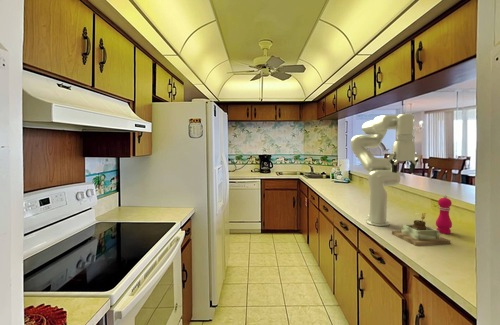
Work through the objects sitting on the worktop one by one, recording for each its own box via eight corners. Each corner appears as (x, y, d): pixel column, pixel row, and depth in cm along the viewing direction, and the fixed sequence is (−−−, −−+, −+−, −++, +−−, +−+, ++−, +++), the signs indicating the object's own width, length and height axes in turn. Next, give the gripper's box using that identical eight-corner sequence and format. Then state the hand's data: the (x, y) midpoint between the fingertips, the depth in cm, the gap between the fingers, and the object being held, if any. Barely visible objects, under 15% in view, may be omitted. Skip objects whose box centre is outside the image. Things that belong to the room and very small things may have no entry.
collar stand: (391, 233, 156) (392, 223, 155) (423, 232, 158) (423, 222, 158) (415, 245, 138) (415, 233, 138) (450, 243, 140) (450, 232, 140)
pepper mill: (445, 230, 162) (447, 193, 161) (455, 234, 155) (456, 196, 154) (432, 230, 162) (433, 193, 161) (441, 234, 155) (442, 196, 154)
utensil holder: (421, 233, 151) (421, 210, 151) (429, 237, 145) (430, 212, 144) (409, 233, 151) (410, 210, 150) (417, 237, 145) (418, 213, 144)
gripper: (414, 138, 156) (413, 171, 157) (384, 138, 154) (383, 171, 155) (425, 138, 149) (423, 172, 150) (393, 138, 146) (391, 173, 147)
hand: (403, 172), depth 152 cm, fingers open, 9 cm apart
